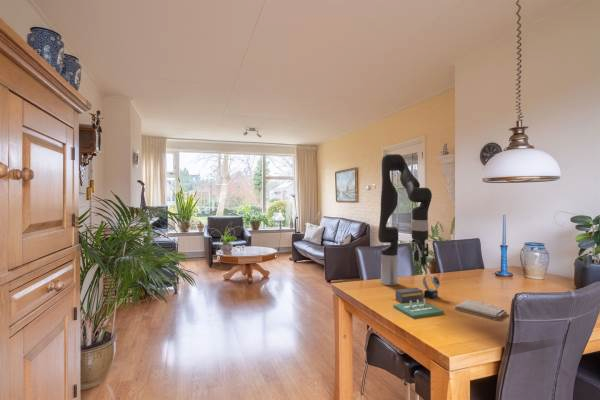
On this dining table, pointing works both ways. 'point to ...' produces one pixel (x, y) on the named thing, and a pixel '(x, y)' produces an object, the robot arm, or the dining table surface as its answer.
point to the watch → (430, 292)
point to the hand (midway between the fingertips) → (419, 262)
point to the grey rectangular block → (409, 295)
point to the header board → (418, 309)
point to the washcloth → (481, 309)
